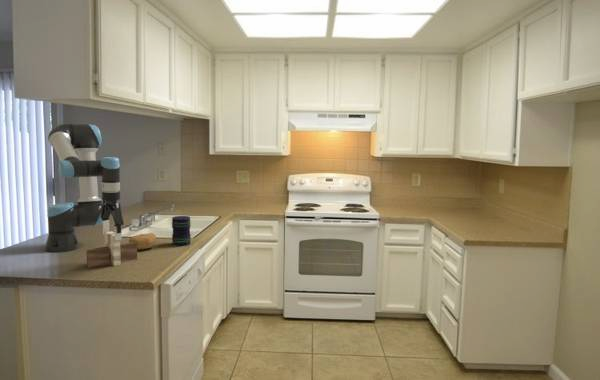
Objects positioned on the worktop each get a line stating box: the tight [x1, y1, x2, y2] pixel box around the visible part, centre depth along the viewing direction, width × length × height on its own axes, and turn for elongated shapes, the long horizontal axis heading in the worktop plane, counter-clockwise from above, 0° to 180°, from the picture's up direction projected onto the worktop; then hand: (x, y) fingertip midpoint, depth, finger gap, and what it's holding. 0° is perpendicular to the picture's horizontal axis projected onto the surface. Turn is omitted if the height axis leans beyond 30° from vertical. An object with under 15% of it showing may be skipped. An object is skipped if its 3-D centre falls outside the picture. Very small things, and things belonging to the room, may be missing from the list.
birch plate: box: [104, 230, 122, 267], centre depth 188 cm, size 10×3×14 cm, turn 46°
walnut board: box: [85, 242, 138, 269], centre depth 189 cm, size 2×22×8 cm, turn 136°
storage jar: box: [171, 215, 192, 247], centre depth 225 cm, size 10×10×15 cm
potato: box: [128, 232, 157, 251], centre depth 213 cm, size 10×14×8 cm
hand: (112, 237), depth 188 cm, fingers open, 13 cm apart
